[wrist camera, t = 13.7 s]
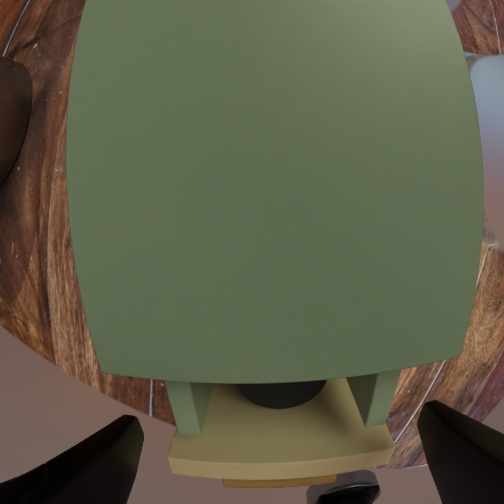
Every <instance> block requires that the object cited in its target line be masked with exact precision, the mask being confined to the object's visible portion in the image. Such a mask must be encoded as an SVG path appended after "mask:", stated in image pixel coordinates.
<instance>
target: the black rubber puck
mask: <svg viewBox="0 0 504 504" xmlns="http://www.w3.org/2000/svg"><path fill="white" fill-rule="evenodd" d="M326 382H327V380H317V381H304V382H287V383H259V384H237V387H238V388H239V390H240V391H241V393H242V394H243V395H244V396H245V397H246V398H247V399H249V400H250V401H251V402H253V403H255V404H257V405H260V406H263V407H266V408H272V409H287V408H292V407H296V406H299V405H302V404H304V403H306V402H308V401H310V400H311V399H313V398H314V397H315V396H316V395H317V394H318V393H319V392H320V391H321V390H322V389H323V387H324V386H325V384H326Z"/></svg>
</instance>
